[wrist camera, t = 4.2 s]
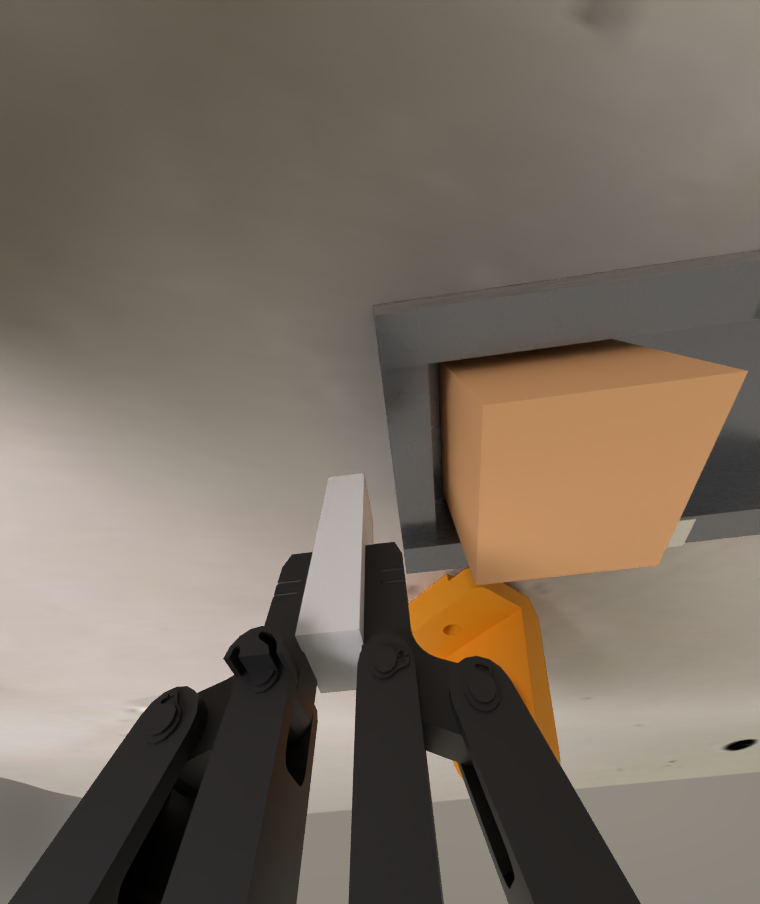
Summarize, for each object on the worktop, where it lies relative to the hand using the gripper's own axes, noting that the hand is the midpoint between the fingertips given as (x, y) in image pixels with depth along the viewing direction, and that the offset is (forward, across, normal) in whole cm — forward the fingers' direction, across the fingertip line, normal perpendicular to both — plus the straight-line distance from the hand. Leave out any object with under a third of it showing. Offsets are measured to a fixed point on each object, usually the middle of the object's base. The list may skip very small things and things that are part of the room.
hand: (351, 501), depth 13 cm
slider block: (+5, +9, 0) cm, 10 cm away
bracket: (+7, +6, -19) cm, 21 cm away
